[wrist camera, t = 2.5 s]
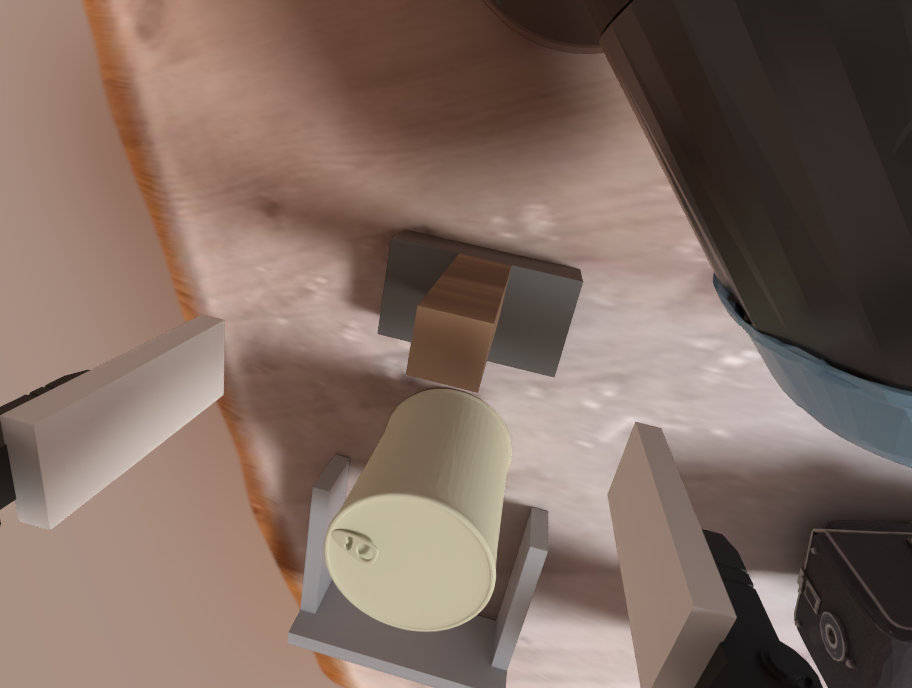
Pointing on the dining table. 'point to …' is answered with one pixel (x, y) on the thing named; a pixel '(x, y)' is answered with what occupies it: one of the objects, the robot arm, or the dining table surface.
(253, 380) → the dining table surface
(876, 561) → the camera
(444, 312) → the scraper
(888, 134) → the robot arm
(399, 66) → the dining table surface
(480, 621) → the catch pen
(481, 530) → the can
